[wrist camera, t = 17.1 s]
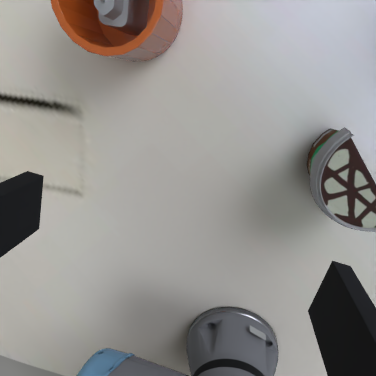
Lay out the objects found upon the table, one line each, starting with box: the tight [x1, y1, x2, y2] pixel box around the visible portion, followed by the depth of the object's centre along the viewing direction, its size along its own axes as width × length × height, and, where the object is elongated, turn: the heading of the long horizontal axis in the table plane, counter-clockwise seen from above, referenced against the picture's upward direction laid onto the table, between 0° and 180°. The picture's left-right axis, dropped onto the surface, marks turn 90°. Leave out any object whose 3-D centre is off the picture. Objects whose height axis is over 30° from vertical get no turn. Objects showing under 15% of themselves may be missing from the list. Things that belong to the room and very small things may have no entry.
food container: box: [307, 127, 376, 232], centre depth 37 cm, size 12×6×10 cm, turn 33°
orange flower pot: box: [51, 0, 182, 62], centre depth 34 cm, size 12×12×10 cm
